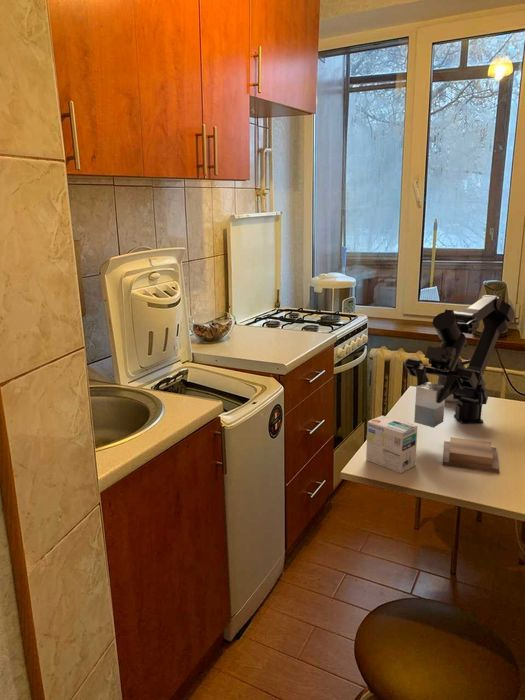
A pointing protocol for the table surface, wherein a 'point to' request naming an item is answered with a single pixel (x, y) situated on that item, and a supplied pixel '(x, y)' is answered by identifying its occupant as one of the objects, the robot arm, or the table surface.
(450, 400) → the pump dispenser
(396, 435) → the light bulb box
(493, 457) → the walnut stand
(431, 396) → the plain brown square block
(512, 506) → the table surface
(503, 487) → the table surface
